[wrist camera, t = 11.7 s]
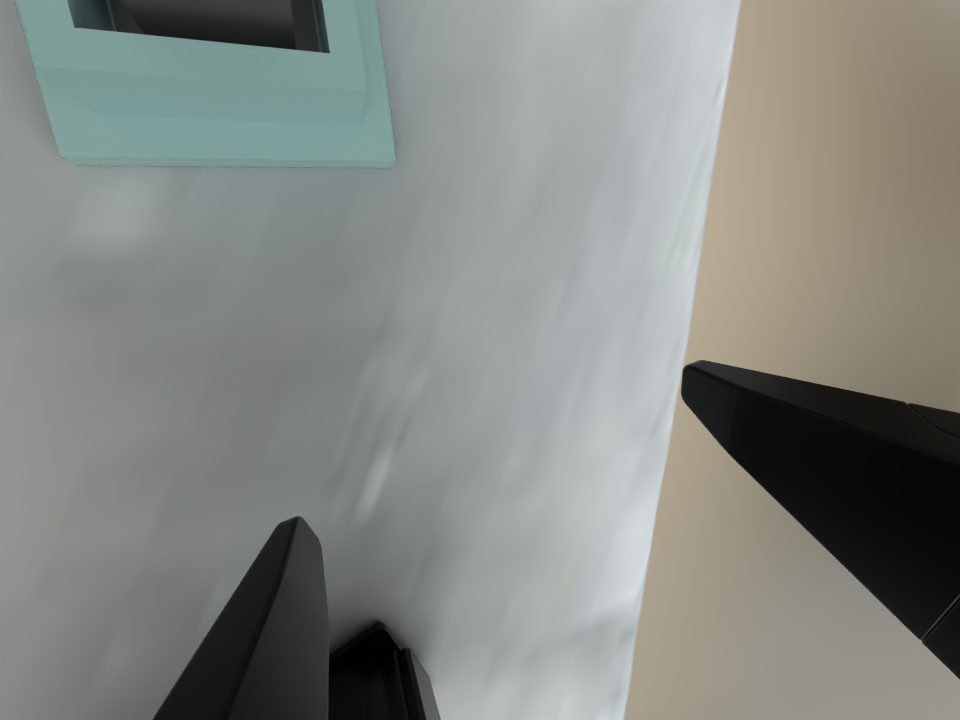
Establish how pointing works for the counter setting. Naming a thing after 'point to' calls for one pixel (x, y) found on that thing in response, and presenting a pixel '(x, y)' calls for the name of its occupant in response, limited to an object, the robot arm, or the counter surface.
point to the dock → (212, 90)
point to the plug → (217, 20)
